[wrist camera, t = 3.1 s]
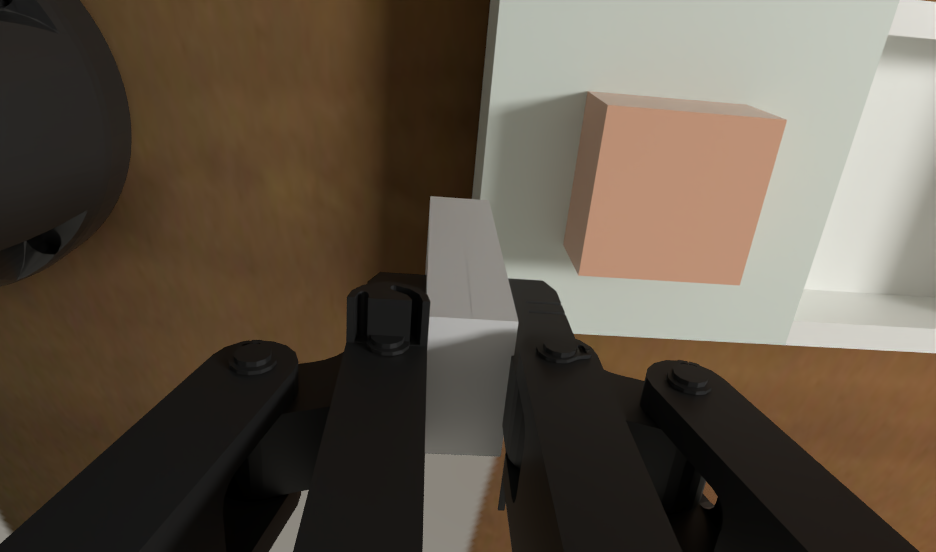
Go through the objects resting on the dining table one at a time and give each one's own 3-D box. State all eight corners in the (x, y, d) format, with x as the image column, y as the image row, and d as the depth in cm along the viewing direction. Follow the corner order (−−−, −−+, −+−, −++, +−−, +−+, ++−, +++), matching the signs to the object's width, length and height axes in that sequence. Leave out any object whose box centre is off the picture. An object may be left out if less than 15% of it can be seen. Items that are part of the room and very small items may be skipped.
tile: (563, 245, 26) (578, 275, 23) (587, 91, 23) (608, 105, 21) (707, 254, 26) (739, 285, 23) (746, 104, 24) (787, 119, 21)
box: (745, 303, 32) (784, 345, 28) (835, -4, 26) (900, -2, 22) (952, 316, 33) (1017, 357, 29) (1083, 21, 27) (1185, 27, 23)
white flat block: (463, 287, 31) (467, 327, 27) (493, -38, 25) (504, -42, 21) (745, 303, 32) (784, 345, 28) (835, -4, 26) (900, -2, 22)
